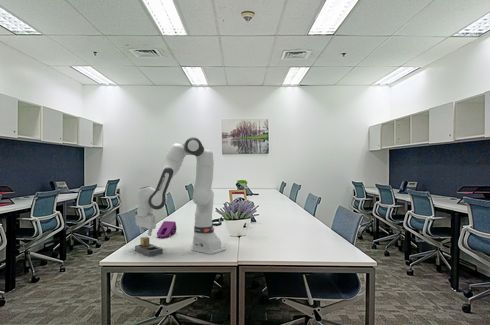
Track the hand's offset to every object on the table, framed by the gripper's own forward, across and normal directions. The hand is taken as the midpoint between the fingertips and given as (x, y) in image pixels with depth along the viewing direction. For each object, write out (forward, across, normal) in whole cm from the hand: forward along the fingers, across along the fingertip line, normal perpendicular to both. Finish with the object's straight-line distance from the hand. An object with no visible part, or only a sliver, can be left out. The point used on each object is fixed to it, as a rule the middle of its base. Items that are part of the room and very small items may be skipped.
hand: (145, 234), depth 193 cm
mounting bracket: (+10, +26, -29) cm, 40 cm away
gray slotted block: (+10, -4, +1) cm, 11 cm away
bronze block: (+10, +1, +1) cm, 10 cm away
